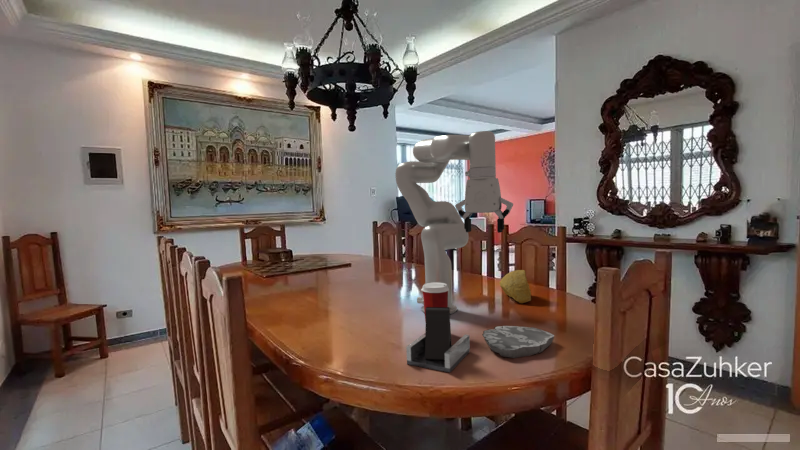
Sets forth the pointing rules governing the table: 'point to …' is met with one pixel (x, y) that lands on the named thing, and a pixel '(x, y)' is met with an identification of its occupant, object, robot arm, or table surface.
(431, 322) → the phone stand
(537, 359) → the table surface
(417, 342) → the guide cradle
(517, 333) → the brain slice
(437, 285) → the coffee cup
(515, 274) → the decorative stone
